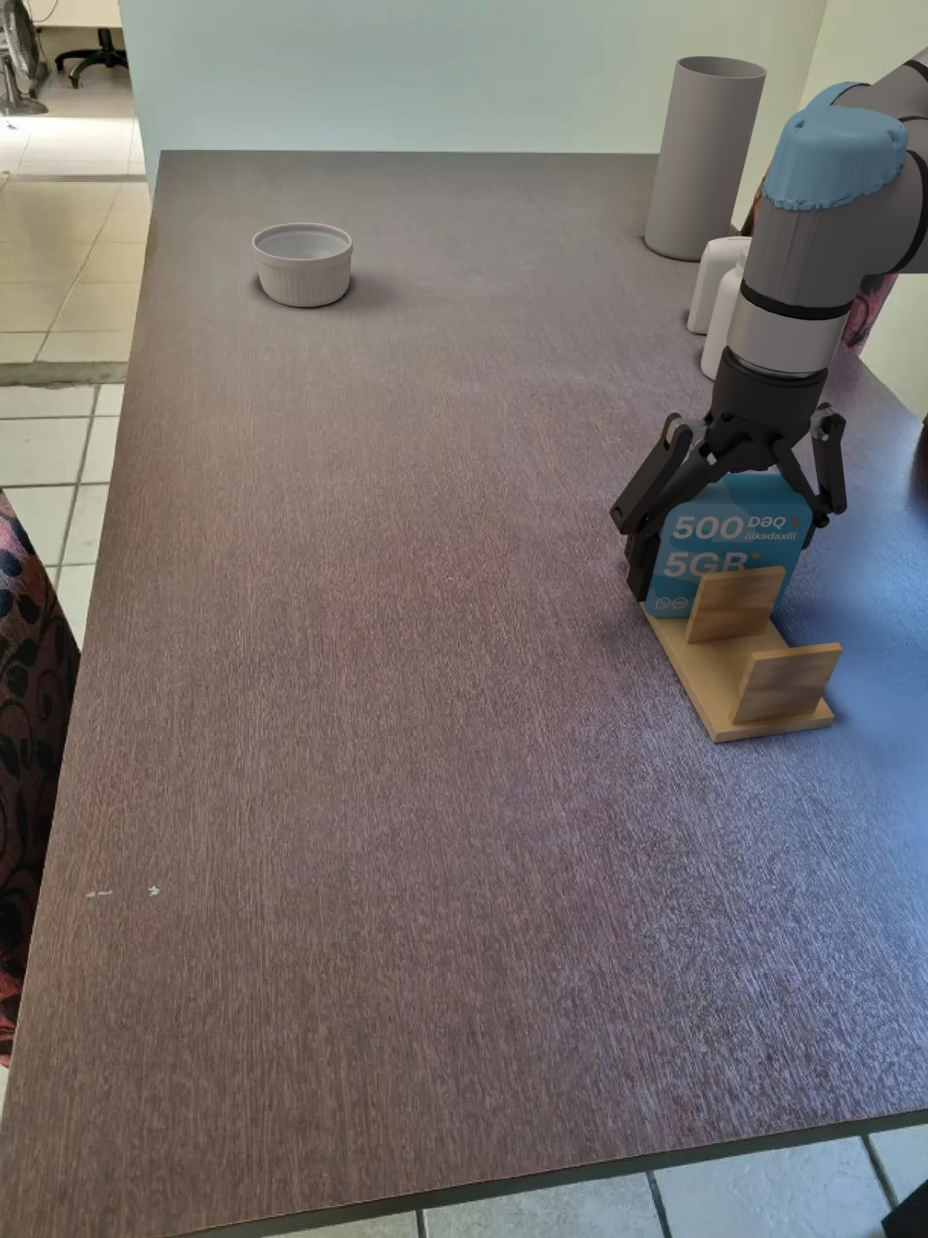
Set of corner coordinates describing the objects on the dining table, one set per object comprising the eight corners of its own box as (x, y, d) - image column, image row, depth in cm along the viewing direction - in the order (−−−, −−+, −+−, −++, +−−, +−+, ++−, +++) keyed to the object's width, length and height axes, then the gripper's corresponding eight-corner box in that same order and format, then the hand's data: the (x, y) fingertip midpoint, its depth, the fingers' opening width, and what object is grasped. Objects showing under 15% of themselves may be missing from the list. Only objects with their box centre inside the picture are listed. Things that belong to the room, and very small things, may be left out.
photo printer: (687, 335, 124) (708, 241, 116) (684, 320, 128) (705, 228, 119) (765, 342, 124) (792, 248, 116) (760, 327, 127) (786, 235, 119)
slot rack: (725, 567, 88) (747, 495, 83) (830, 726, 74) (866, 652, 68) (625, 577, 86) (641, 504, 81) (713, 743, 72) (740, 668, 66)
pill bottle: (771, 369, 118) (807, 250, 108) (752, 395, 113) (787, 272, 103) (711, 351, 121) (741, 233, 111) (690, 375, 116) (719, 254, 106)
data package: (640, 618, 80) (669, 504, 72) (630, 584, 84) (656, 471, 76) (776, 618, 81) (819, 505, 73) (760, 584, 85) (800, 472, 77)
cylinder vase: (725, 266, 142) (770, 81, 126) (642, 257, 144) (676, 72, 127) (721, 236, 152) (763, 60, 135) (644, 227, 153) (675, 52, 136)
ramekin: (238, 300, 125) (232, 248, 120) (283, 265, 134) (279, 215, 129) (329, 319, 122) (327, 266, 117) (369, 281, 131) (368, 231, 127)
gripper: (901, 323, 72) (815, 544, 86) (596, 338, 67) (559, 570, 81) (959, 370, 66) (857, 597, 81) (632, 390, 62) (585, 628, 76)
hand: (707, 584), depth 81 cm, fingers closed on data package, 12 cm apart
